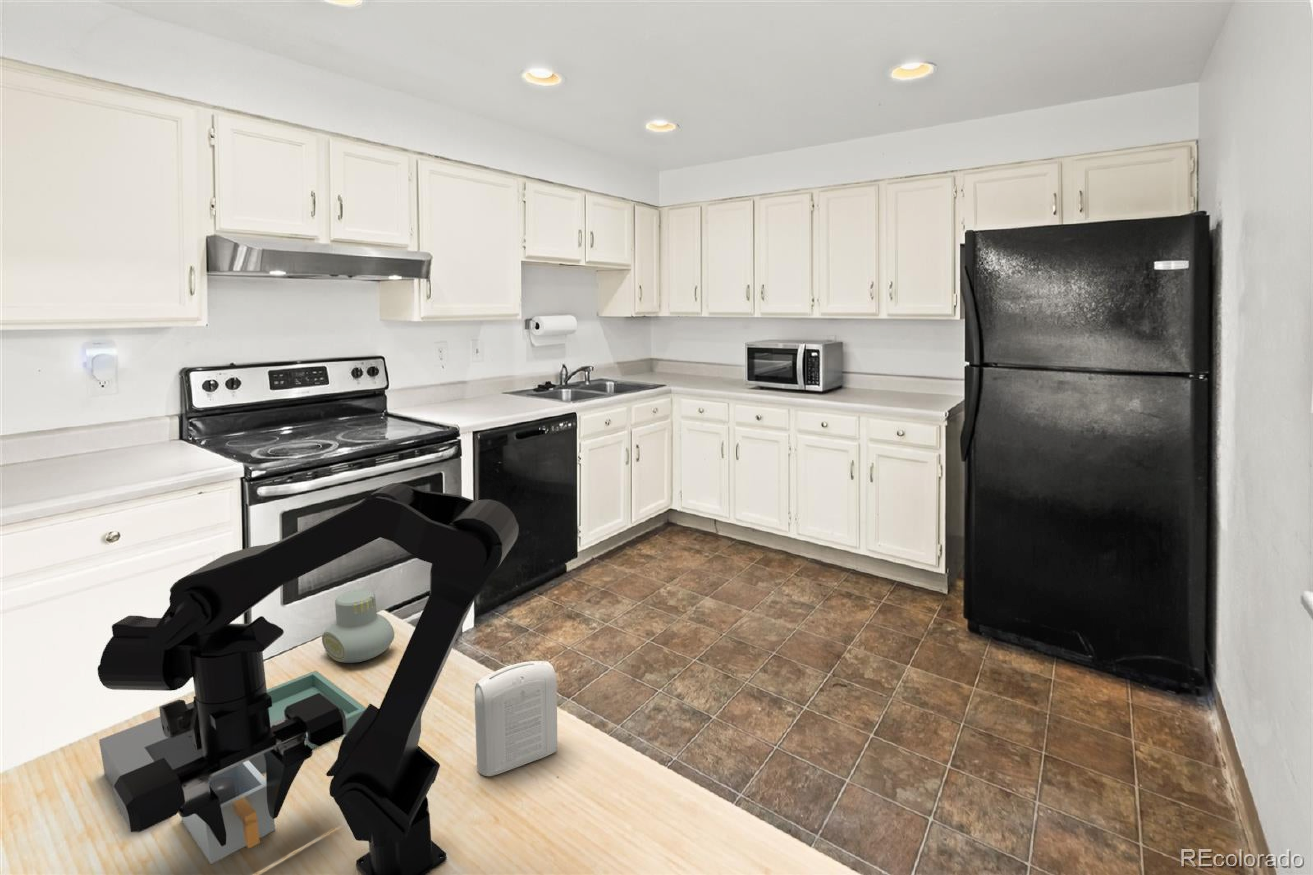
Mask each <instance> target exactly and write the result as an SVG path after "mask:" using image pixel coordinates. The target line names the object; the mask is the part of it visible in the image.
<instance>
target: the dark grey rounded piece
mask: <svg viewBox="0 0 1313 875" xmlns="http://www.w3.org/2000/svg"><path fill="white" fill-rule="evenodd" d="M209 786H210V787H211V788H212V790H213V791H214V792H215V794H216V795H217V796H218V797H219V801H220V805H221V804H223V803H225V802H227V801H229V800H231V799H233V798H235V797H236V791H235V783H234V779H233V778H232V777H220V778H217V779H215V780H213V781H211V782H209Z"/></svg>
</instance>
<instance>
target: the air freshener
mask: <svg viewBox="0 0 1313 875" xmlns="http://www.w3.org/2000/svg"><path fill="white" fill-rule="evenodd" d="M376 602H377V600H376V593H375V592H374V591H372V590H370V589H366V588H365V589H364V588H363V589H362V588H361V589H359V588H358V589H353V590H348V591H345V592H343V593H341V594H339V595H338V596H337V597H336V598H335V600H334V605H335V606H334V607H335V617H336V619H335V620H334V622H332V623H330V625H328V627H326V629H325V630H324V632H323V633H322V635H321V644H322V646H323V648H324V650H325V651H326V653H327V655H328V656H329V657H331V659H332V660H334V661H336V662H339V663H345V664H346V663H347V664H348V663H349V664H355V663H363V662H366V661H369V660H372V659H373V658H376V657H377V656H379V655H380V654H382V653H384V652H385V651H386V650H387V649H389V647H390V646H391V644H392V643H393V642H394V639H395V630H394V627H393V625H392V624H391V621H389V619H387V617H385V616H384V615H382V614H380V613H377V603H376Z"/></svg>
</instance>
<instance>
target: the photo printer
mask: <svg viewBox="0 0 1313 875" xmlns="http://www.w3.org/2000/svg"><path fill="white" fill-rule="evenodd" d="M557 688H558V681H557V675H556V672H555V668H554V665H553V664H551V663H550V662H549V661H547V660H546V661H545V660H534V661H533V660H531V661H524V662H518V663H515V664H511V665H508V666H505V667H502V668H500V669H498V670H495V671H493V672H492V673H489V674H488V675H486V676H484V677H483V678H481V679H479V680H478V681H477V682H476V683H475V685H474V720H475V724H474V725H475V748H476V750H475V751H476V770H477V771H478V772H477V773H479V774H480V775H482V776H485V777H492V776H496V775H500V774H503V773H505V772H507V771H511V770H513V769H516V768H518V767H519V768H520V767H521V766H524V765H526V764H530V763H532V762H535V761H538V760H541V759H543V758H546V757H548V756H551V755H553V754H554V753H556V752H557V751H558V689H557Z"/></svg>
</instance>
